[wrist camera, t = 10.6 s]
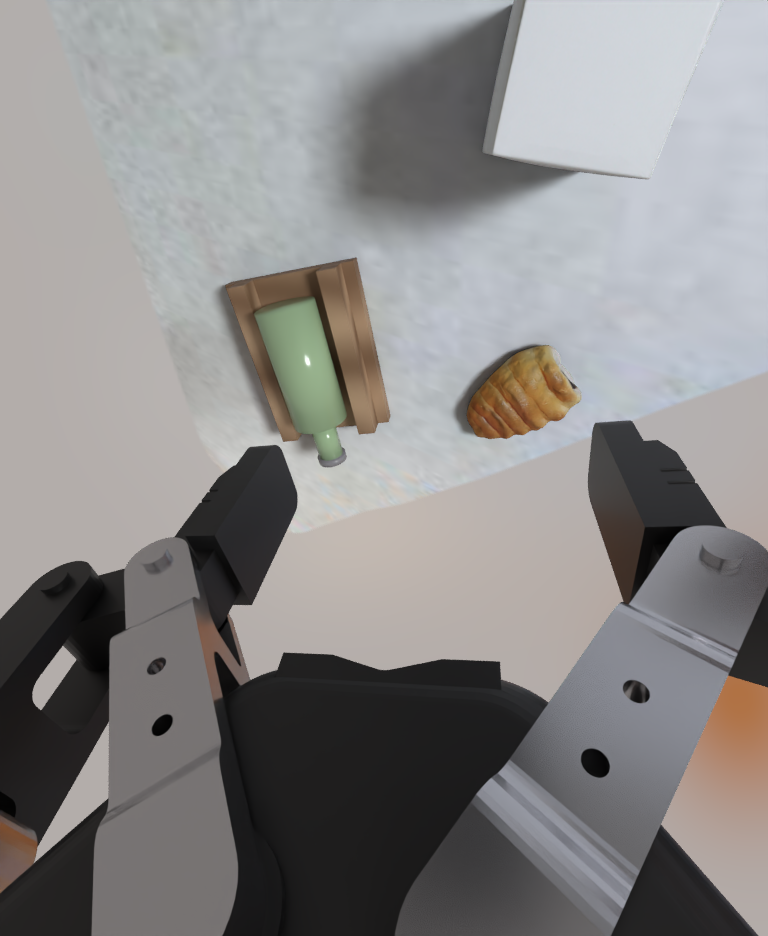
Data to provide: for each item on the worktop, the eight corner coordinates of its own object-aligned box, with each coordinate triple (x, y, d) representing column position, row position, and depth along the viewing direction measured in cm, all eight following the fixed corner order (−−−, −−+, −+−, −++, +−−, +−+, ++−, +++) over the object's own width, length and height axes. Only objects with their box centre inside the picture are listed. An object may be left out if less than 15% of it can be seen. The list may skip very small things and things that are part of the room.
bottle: (268, 302, 37) (243, 320, 33) (322, 292, 36) (303, 310, 32) (316, 447, 45) (301, 475, 41) (362, 443, 43) (351, 472, 39)
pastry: (492, 445, 43) (494, 468, 40) (449, 394, 41) (447, 414, 38) (585, 390, 38) (595, 410, 35) (542, 329, 36) (549, 345, 33)
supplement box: (479, 154, 30) (483, 156, 20) (513, -2, 26) (541, -102, 16) (589, 173, 30) (651, 185, 20) (642, 18, 25) (758, -71, 15)
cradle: (231, 282, 38) (215, 291, 35) (356, 257, 35) (347, 265, 33) (284, 427, 45) (273, 442, 43) (390, 415, 43) (385, 431, 40)
